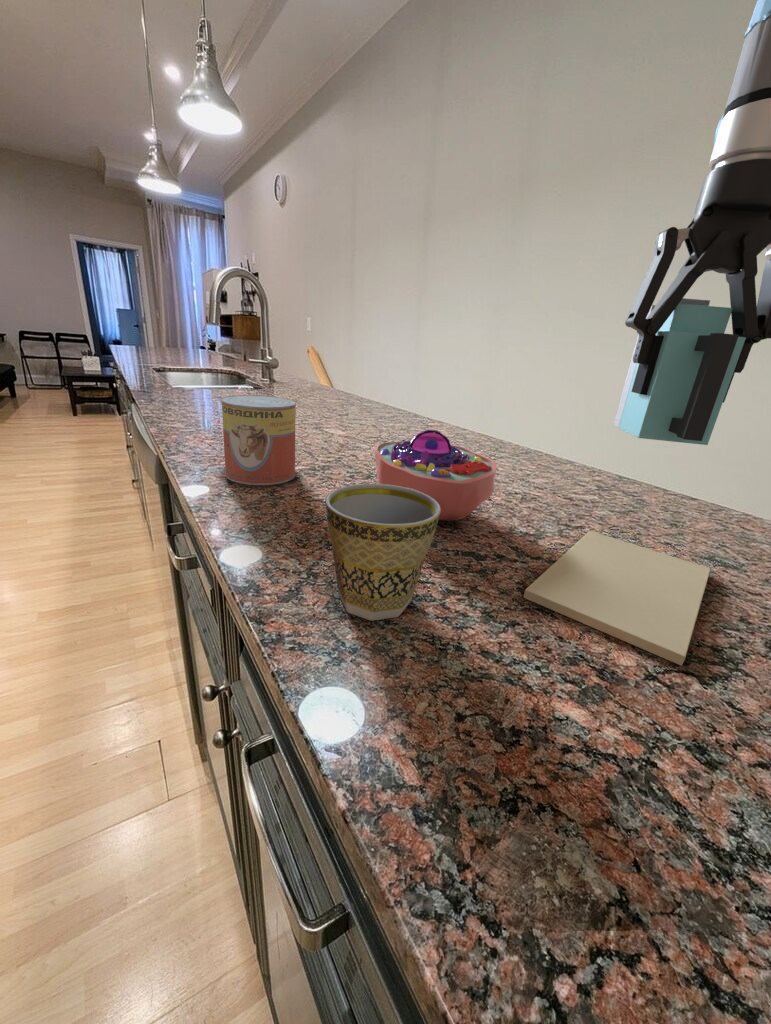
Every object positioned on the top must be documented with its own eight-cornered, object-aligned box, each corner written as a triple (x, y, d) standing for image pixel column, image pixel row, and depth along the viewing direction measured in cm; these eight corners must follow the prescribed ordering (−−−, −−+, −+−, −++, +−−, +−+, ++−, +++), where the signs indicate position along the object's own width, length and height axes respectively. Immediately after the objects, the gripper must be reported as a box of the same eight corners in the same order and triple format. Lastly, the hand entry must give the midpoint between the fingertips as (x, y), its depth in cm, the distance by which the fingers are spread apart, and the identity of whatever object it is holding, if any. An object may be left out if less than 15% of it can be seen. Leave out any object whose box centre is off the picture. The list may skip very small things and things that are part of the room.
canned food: (213, 481, 69) (208, 402, 64) (238, 462, 79) (236, 392, 75) (286, 488, 69) (286, 410, 64) (301, 467, 79) (302, 399, 75)
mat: (587, 536, 61) (589, 530, 61) (708, 575, 53) (711, 568, 53) (523, 597, 45) (524, 589, 45) (681, 666, 37) (685, 656, 37)
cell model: (369, 538, 55) (376, 448, 51) (369, 485, 73) (374, 416, 69) (504, 546, 56) (522, 459, 52) (470, 493, 74) (482, 425, 70)
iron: (648, 297, 56) (701, 286, 44) (715, 302, 55) (787, 293, 44) (613, 425, 62) (652, 445, 50) (673, 431, 61) (727, 453, 49)
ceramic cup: (402, 647, 36) (416, 536, 33) (300, 609, 40) (301, 505, 36) (449, 578, 47) (463, 489, 44) (366, 553, 51) (372, 469, 47)
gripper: (829, 187, 48) (747, 401, 56) (629, 174, 50) (578, 385, 58) (895, 161, 41) (790, 410, 49) (659, 148, 43) (597, 391, 51)
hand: (676, 396), depth 54 cm, fingers closed on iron, 8 cm apart
